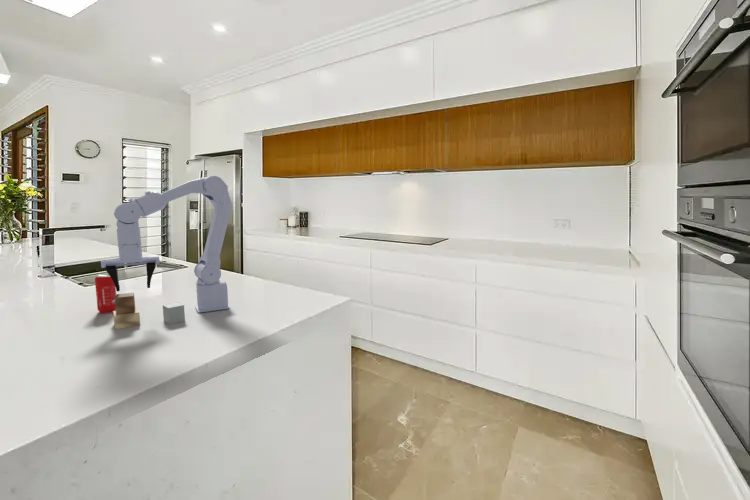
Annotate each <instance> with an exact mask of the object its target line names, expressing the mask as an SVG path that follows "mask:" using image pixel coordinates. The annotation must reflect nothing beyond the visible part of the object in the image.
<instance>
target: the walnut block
mask: <svg viewBox="0 0 750 500" xmlns="http://www.w3.org/2000/svg"><path fill="white" fill-rule="evenodd" d="M135 300H136V299H135V292H128V293H116V295H115V308H116V315H120V314H128V313H135V308H136V301H135Z"/></svg>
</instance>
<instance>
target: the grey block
mask: <svg viewBox="0 0 750 500" xmlns="http://www.w3.org/2000/svg"><path fill="white" fill-rule="evenodd" d="M162 314H163V321H164V322H165V323H166V324H168V325H172V324H176V323H182V322H185V321H186V317H185V316H186V314H185V304H183V303H180V302H174V303H167V304H166V303H165V304H162Z"/></svg>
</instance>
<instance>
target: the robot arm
mask: <svg viewBox="0 0 750 500" xmlns="http://www.w3.org/2000/svg"><path fill="white" fill-rule="evenodd" d="M228 188H229V186H228V185H227V184H226V182H225V180H224V179H222V178H221V177H220V176H217V175H210V176H205V177H204V176H203V177H202V178H197V179H193V180H189V181H186V182H184V183H182V184H179V185H177V186H175V187H173V188H171V189H168V190H166V191H164V192H161V193H160V192H157V191H154V190H153V191H150V190H148V191H146V192H144V194H143V195H142V196H139V197H136V198H134V199H133V198H130V199H128V202H123V203H120V204H118V205H117V206H116V207H115V209H114V212H113V215H114V217H115V219H116V227H117V228H116V235H117V236H116V237H117V247H118V258H114V259H113V258H112V259H102V260H100V267H101V269H104V268H105V271H106V274H109V275H110V277H111V278H112V280H113V282H114V284H115V287H116V292H120V290H121V289H120V288H121V287H120V282H119V273H118V271H119V270H118V267H124V266H137V265H138V266H139V265H140V266H141V265H145V266H146V267H145V268H146V287H147V288H146V289H150V288H151V283H152V282H151V281H152V278H153V275H154V272H155V269H156V266H157V265H156V264H158V265H159V264H160V261H161V260H160V256H143V250H142V241H141V239H142V237H141V228H140V223H139V220H140V218H141V217H142V218H145V217H147V216H150V215H152V214H155V213H157V212H159V211H162V210H164V209H165V208H166V205H167V204H168V203H169V202H172V201H174V200H176V199H179V198H183V197H184V196H187V195H190V194H202V195H203V196H204V197H206V199H208V200H209V202H210V203H211V204H212V206H213V207H214V209H213V214H212V217H211V222H210V226H209V229H208V233H207V237H206V242H205V246H204V249H203V253H202V254H201V256H200V258H199V261H198V263H196V265H195V267H194V269H193V271H194V275H195V276H196V278H197V280H196V281H195V285H196V287H195V288H196V301H197V302H196V303H197V305H195V306H194V307H195V309H196V312H197V313H200V314H201V313H205V312H206V313H207V312H214V311H221V310H222V311H223V310H228V309H229V295H228V293H229V292H228V284H227V282H226V281H224V280H223V281H220V279H221V276H222V272H221V264H222V262H221V252H222V248H223V244H224V239H225V235H226V231H227V228H228V224H229V220H230V216H231V212H232V207H233V203H232V200H231V197H230V193H229V189H228Z"/></svg>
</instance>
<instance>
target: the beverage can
mask: <svg viewBox="0 0 750 500" xmlns="http://www.w3.org/2000/svg"><path fill="white" fill-rule="evenodd" d="M94 282H95V283H94V284H95V294H96V296H95V297H96V305H97V307H96V308H97V311H98V312H99V314H111V313H113V311H116V308H115V295H116V294H117V290H116V287H115V284H114V282H113V280H112V278H111V277H110V275H109V274H108V273H105V274H104V273H103V274H98V275H95V278H94Z"/></svg>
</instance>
